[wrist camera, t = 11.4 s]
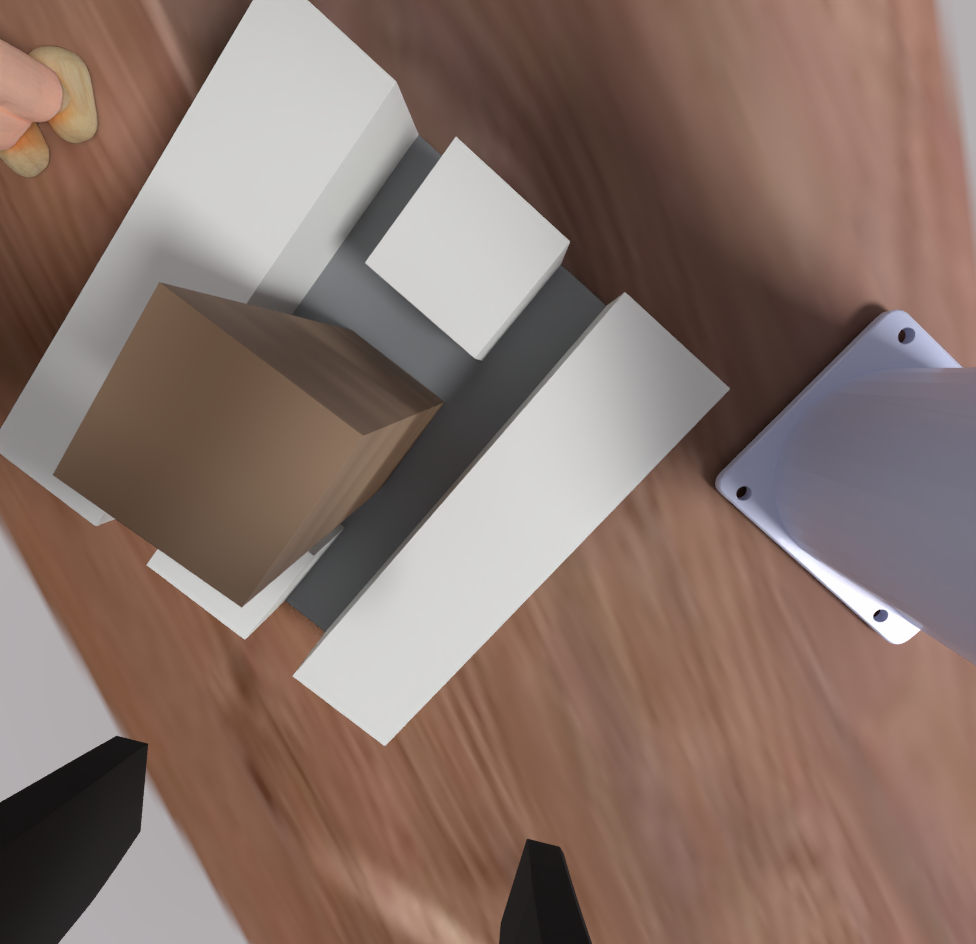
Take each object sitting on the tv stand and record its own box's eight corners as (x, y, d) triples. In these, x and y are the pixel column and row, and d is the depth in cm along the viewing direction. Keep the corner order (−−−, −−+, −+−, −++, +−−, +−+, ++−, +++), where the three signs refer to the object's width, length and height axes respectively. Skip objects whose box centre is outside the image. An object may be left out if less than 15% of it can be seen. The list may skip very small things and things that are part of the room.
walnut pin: (444, 402, 17) (363, 435, 8) (380, 488, 17) (241, 607, 9) (351, 330, 16) (159, 282, 8) (290, 422, 17) (52, 474, 8)
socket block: (686, 385, 17) (730, 388, 13) (407, 681, 20) (384, 746, 16) (326, 57, 15) (272, -33, 12) (88, 432, 18) (-10, 446, 15)
